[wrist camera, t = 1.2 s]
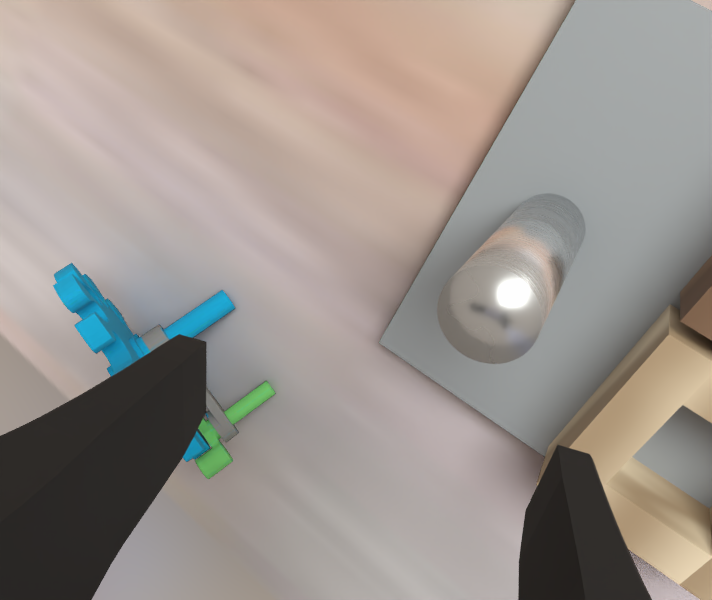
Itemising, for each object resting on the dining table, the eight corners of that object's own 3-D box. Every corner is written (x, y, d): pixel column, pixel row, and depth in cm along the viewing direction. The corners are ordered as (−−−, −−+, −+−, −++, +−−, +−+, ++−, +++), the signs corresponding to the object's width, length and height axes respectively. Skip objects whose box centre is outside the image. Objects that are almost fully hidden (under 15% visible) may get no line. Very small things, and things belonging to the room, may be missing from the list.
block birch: (880, 433, 19) (905, 481, 17) (720, 563, 23) (724, 616, 21) (669, 304, 21) (668, 334, 18) (548, 445, 24) (536, 484, 22)
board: (1179, 252, 16) (1201, 262, 15) (747, 581, 24) (749, 597, 23) (604, -43, 19) (602, -46, 18) (386, 335, 26) (378, 342, 26)
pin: (600, 218, 21) (562, 305, 14) (558, 277, 22) (505, 382, 15) (535, 179, 21) (468, 245, 14) (497, 239, 22) (420, 325, 16)
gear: (57, 277, 31) (15, 289, 22) (161, 211, 33) (164, 195, 23) (190, 450, 34) (205, 528, 24) (282, 383, 35) (330, 432, 26)
